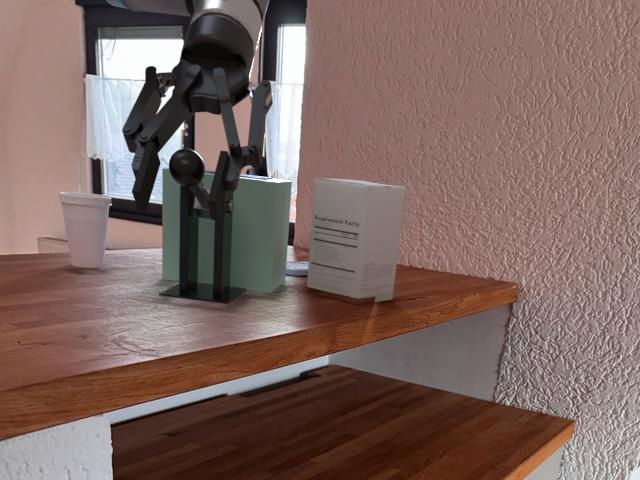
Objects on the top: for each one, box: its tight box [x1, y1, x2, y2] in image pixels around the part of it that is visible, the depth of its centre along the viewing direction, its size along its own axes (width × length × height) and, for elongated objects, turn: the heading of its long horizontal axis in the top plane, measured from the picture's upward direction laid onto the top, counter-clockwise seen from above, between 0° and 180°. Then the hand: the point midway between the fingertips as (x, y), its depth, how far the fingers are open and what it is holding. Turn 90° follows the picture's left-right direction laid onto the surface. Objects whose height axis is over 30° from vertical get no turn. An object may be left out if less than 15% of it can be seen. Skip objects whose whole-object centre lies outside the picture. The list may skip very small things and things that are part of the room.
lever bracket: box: [158, 185, 248, 305], centre depth 85 cm, size 10×8×13 cm
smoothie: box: [57, 156, 113, 269], centre depth 93 cm, size 6×6×14 cm
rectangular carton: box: [306, 177, 406, 303], centre depth 98 cm, size 9×9×15 cm
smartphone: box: [286, 260, 309, 276], centre depth 118 cm, size 7×1×15 cm
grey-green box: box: [161, 167, 293, 294], centre depth 95 cm, size 11×14×14 cm
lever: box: [168, 148, 212, 219], centre depth 79 cm, size 12×4×4 cm, turn 176°
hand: (176, 206), depth 73 cm, fingers open, 7 cm apart
